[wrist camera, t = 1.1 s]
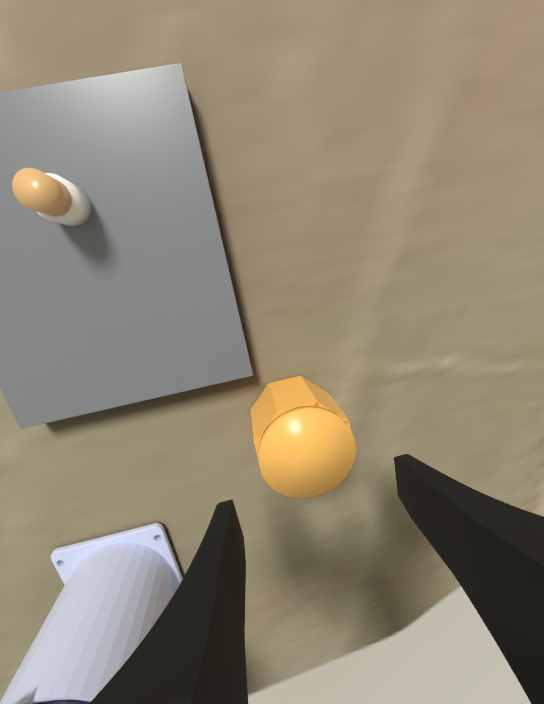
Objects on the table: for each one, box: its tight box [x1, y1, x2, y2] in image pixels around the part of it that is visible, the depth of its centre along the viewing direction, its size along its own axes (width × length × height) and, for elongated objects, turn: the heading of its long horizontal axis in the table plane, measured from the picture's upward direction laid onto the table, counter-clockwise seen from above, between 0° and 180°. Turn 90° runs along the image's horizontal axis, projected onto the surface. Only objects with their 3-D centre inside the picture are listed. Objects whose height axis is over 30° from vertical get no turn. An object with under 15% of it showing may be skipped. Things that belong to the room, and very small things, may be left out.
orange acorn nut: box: [251, 376, 356, 498], centre depth 18 cm, size 5×6×5 cm
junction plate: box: [0, 63, 253, 429], centre depth 15 cm, size 16×14×4 cm
